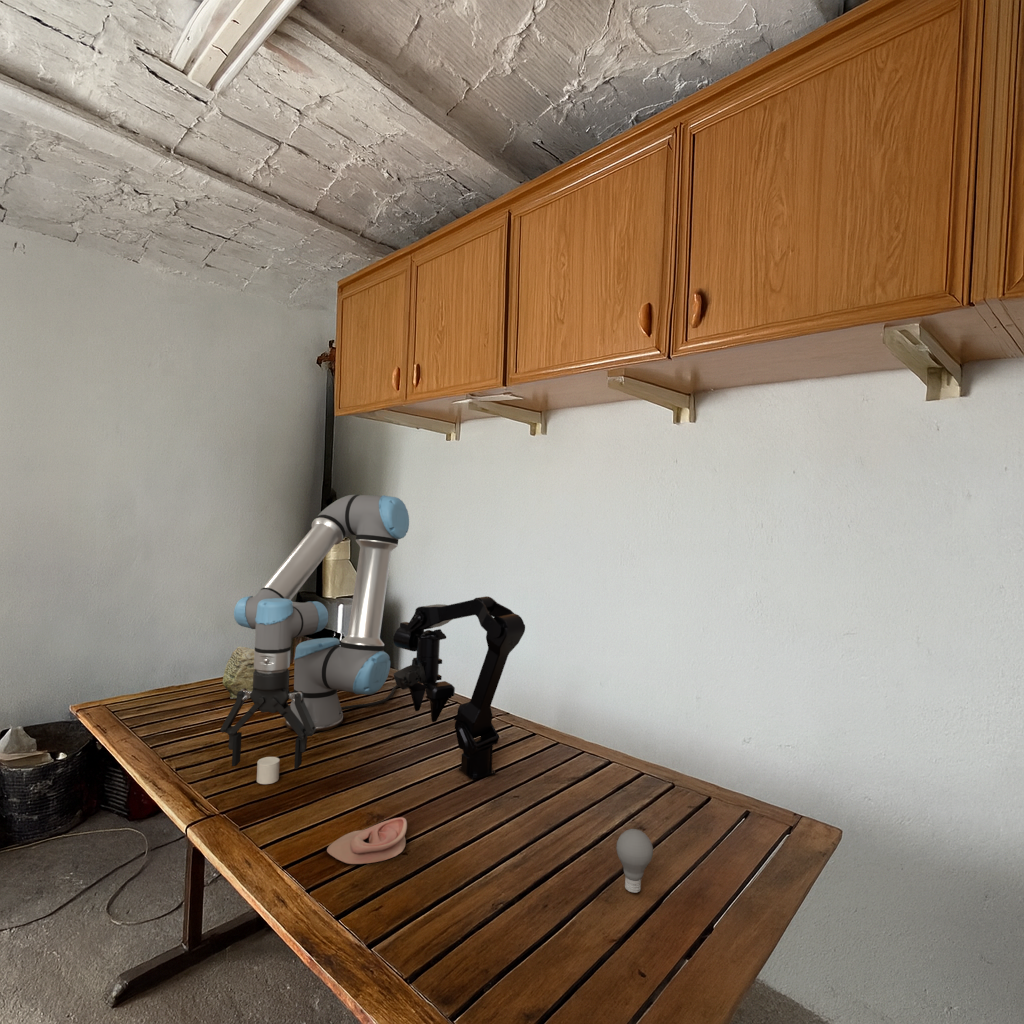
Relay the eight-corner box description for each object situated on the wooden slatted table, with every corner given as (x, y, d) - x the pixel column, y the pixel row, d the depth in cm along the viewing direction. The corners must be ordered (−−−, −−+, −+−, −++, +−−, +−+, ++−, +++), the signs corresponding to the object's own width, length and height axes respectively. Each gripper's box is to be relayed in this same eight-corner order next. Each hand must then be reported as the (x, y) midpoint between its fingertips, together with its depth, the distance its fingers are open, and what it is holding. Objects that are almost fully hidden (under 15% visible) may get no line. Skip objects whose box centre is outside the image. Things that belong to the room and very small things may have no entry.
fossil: (218, 695, 195) (220, 647, 195) (278, 685, 208) (279, 640, 207) (228, 703, 189) (230, 653, 188) (289, 692, 201) (290, 645, 201)
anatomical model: (319, 836, 111) (348, 806, 122) (318, 859, 111) (348, 826, 122) (390, 848, 108) (414, 816, 119) (389, 871, 108) (413, 836, 119)
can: (262, 786, 137) (263, 767, 137) (252, 779, 140) (253, 760, 140) (282, 780, 141) (283, 761, 141) (272, 773, 144) (273, 754, 144)
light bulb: (610, 879, 108) (613, 822, 108) (644, 879, 109) (647, 822, 109) (619, 902, 102) (622, 840, 102) (655, 901, 103) (658, 840, 103)
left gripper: (207, 671, 136) (202, 769, 136) (323, 676, 137) (318, 774, 137) (222, 662, 144) (217, 756, 144) (332, 667, 144) (328, 760, 144)
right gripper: (383, 650, 163) (380, 710, 163) (415, 667, 148) (412, 733, 148) (422, 645, 169) (419, 703, 170) (457, 662, 154) (454, 725, 154)
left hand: (266, 765), depth 140 cm, fingers open, 13 cm apart
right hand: (425, 716), depth 160 cm, fingers open, 9 cm apart
